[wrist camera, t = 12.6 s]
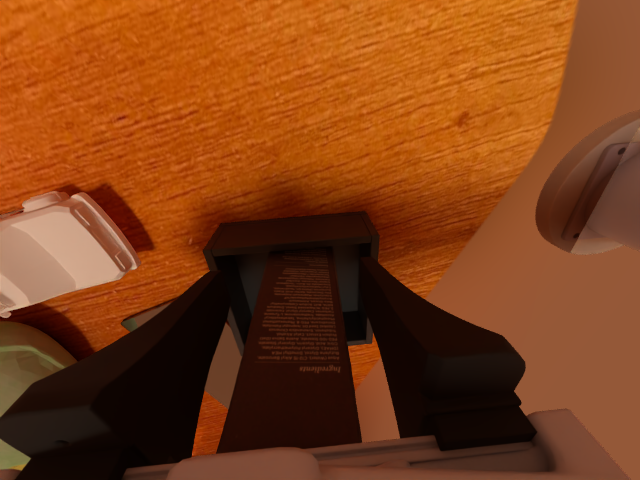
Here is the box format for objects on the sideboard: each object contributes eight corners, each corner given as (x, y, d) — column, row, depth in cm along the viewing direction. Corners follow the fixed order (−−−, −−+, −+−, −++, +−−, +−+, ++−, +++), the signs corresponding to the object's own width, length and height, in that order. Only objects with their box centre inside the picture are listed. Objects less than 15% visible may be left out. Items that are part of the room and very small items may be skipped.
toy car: (-64, 224, 15) (-295, 302, 9) (107, 173, 14) (-28, 222, 8) (18, 293, 18) (-118, 384, 12) (164, 253, 17) (94, 331, 11)
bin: (365, 210, 17) (380, 234, 14) (362, 309, 21) (372, 343, 18) (220, 222, 16) (201, 250, 13) (249, 320, 21) (240, 356, 18)
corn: (19, 347, 14) (145, 470, 24) (40, 277, 20) (136, 402, 30) (-277, 461, 10) (29, 553, 20) (-144, 330, 15) (43, 455, 25)
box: (267, 235, 17) (208, 461, 6) (332, 237, 17) (380, 454, 7) (269, 300, 19) (231, 528, 9) (324, 301, 20) (349, 520, 9)
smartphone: (198, 291, 19) (290, 394, 26) (200, 287, 19) (290, 389, 27) (119, 323, 20) (229, 413, 27) (123, 317, 20) (230, 407, 28)
